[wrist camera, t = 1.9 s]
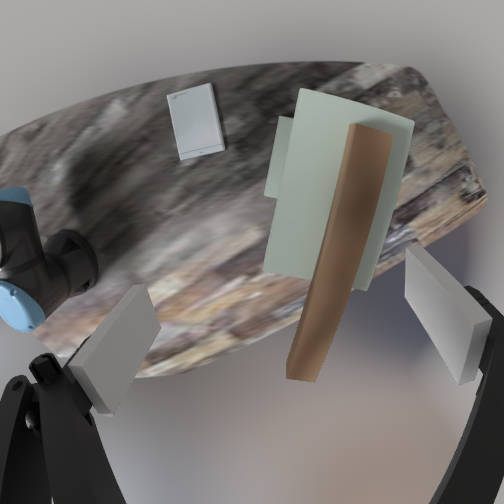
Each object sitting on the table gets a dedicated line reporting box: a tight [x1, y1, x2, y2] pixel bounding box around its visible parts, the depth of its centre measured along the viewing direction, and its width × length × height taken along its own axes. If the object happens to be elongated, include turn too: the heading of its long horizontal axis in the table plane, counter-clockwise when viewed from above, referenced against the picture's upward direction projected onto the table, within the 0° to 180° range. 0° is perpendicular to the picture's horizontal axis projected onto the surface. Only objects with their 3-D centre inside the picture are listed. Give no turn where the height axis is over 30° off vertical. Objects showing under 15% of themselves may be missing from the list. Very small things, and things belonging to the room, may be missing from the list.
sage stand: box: [263, 88, 415, 291], centre depth 38 cm, size 13×16×29 cm
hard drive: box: [167, 83, 225, 160], centre depth 50 cm, size 2×8×12 cm
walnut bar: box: [286, 123, 394, 382], centre depth 26 cm, size 3×24×2 cm, turn 170°
